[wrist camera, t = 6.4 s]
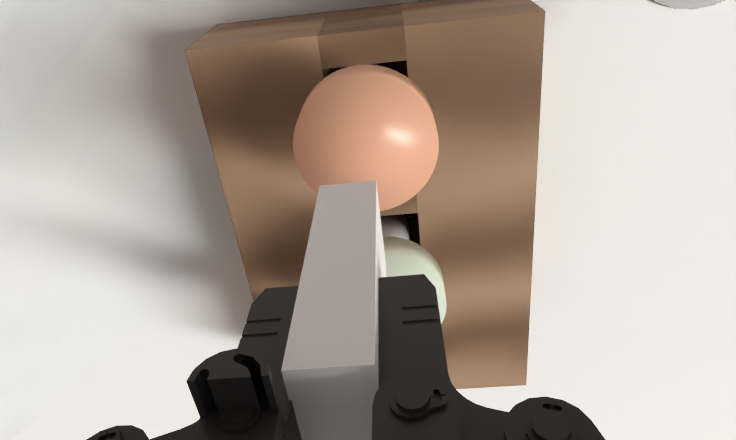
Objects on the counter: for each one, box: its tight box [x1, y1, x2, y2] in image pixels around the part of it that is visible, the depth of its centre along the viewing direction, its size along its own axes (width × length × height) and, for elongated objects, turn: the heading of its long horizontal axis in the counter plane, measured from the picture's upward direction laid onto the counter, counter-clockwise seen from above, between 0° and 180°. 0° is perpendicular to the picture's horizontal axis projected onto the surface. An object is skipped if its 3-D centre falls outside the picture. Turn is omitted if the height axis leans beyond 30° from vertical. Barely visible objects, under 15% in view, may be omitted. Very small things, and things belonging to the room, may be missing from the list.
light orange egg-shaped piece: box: [293, 64, 439, 211], centre depth 21 cm, size 5×5×6 cm
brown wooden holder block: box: [185, 0, 545, 389], centre depth 28 cm, size 20×14×5 cm
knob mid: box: [380, 214, 447, 324], centre depth 25 cm, size 5×5×6 cm
